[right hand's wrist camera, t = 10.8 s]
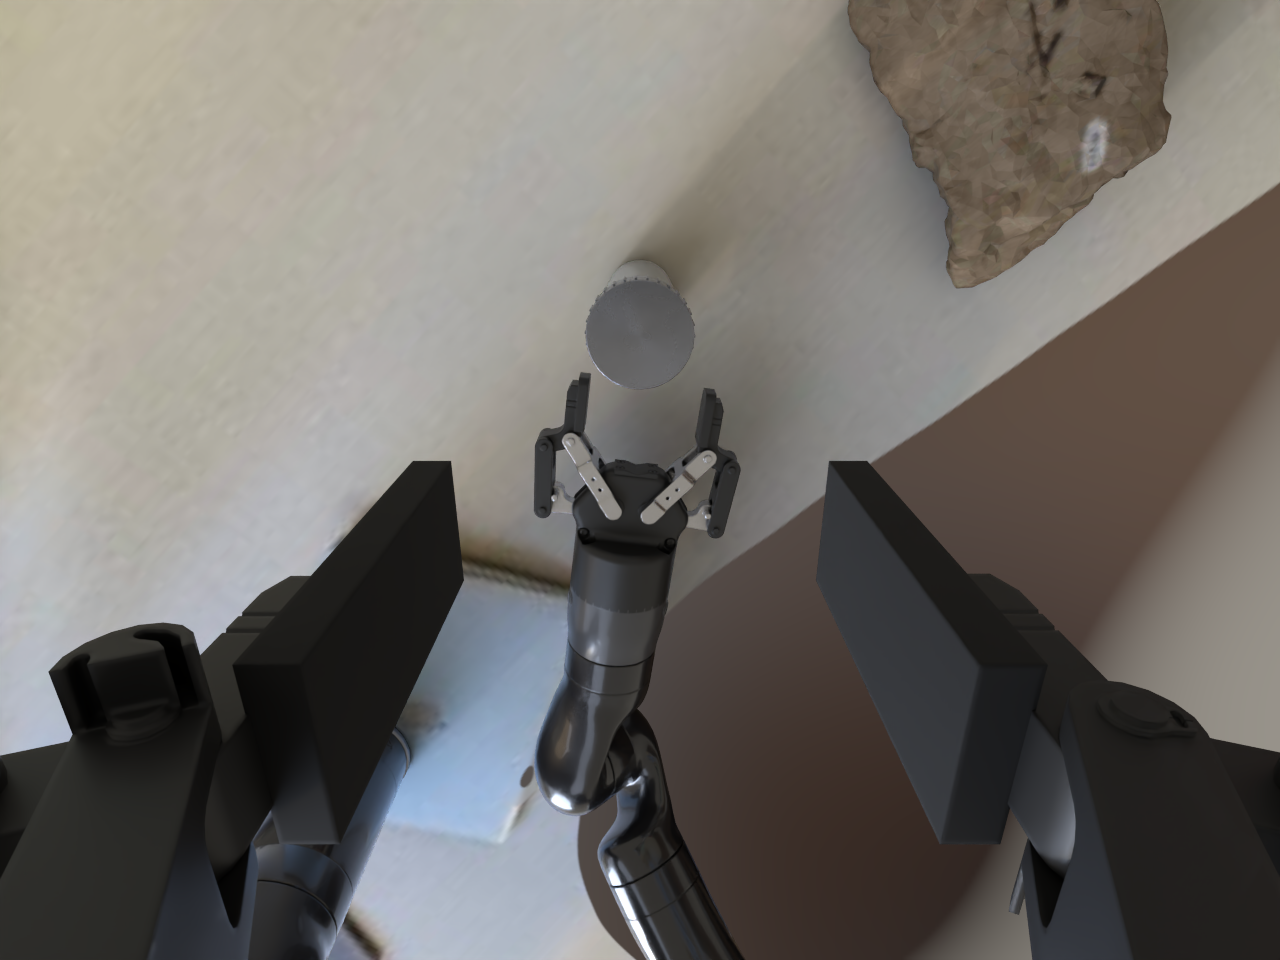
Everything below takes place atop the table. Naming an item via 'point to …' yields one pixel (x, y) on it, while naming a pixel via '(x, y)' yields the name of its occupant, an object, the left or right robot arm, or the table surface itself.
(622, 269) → the blue-grey bottle
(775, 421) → the table surface
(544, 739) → the left robot arm
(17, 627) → the table surface
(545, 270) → the table surface
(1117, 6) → the stone
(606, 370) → the lid
